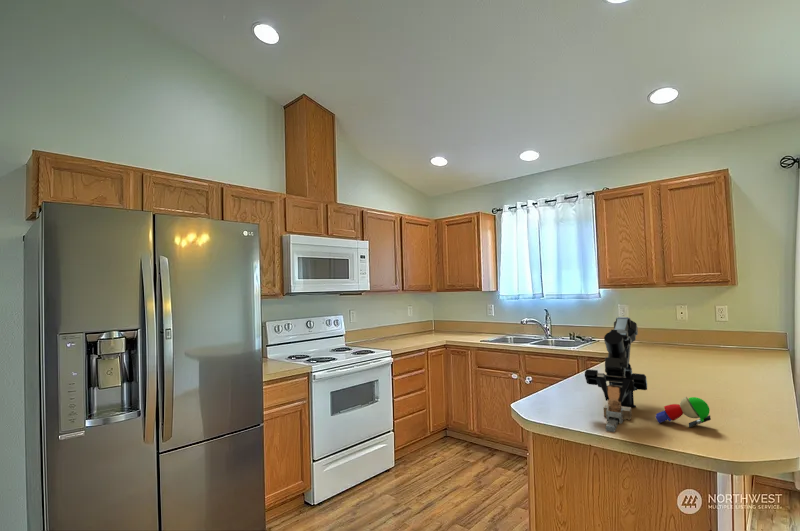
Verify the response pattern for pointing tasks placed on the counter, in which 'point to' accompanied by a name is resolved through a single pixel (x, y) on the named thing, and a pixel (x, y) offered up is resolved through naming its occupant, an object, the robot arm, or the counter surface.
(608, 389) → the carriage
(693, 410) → the toy
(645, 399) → the counter surface
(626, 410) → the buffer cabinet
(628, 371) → the robot arm
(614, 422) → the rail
